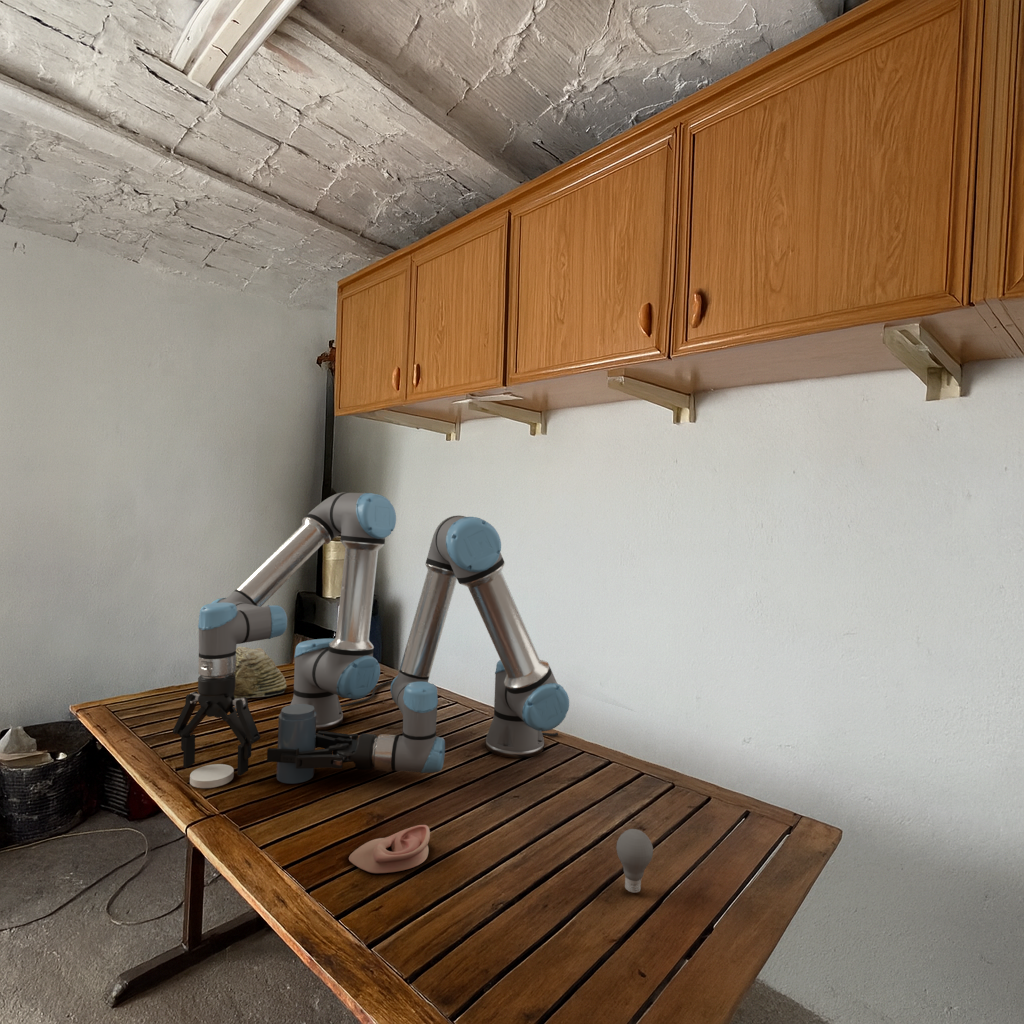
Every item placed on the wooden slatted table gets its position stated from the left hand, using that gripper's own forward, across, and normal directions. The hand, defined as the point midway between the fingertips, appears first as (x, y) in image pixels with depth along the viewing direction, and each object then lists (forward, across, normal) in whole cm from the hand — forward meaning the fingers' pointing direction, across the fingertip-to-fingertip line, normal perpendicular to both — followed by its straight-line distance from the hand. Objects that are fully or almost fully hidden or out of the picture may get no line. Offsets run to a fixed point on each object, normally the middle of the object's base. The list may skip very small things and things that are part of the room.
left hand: (215, 769), depth 140 cm
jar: (+2, +16, +6) cm, 17 cm away
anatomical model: (+2, +49, -18) cm, 52 cm away
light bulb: (+2, +91, -15) cm, 93 cm away
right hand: (-4, +11, +6) cm, 13 cm away
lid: (+1, 0, -1) cm, 1 cm away
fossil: (+3, -27, +53) cm, 60 cm away
